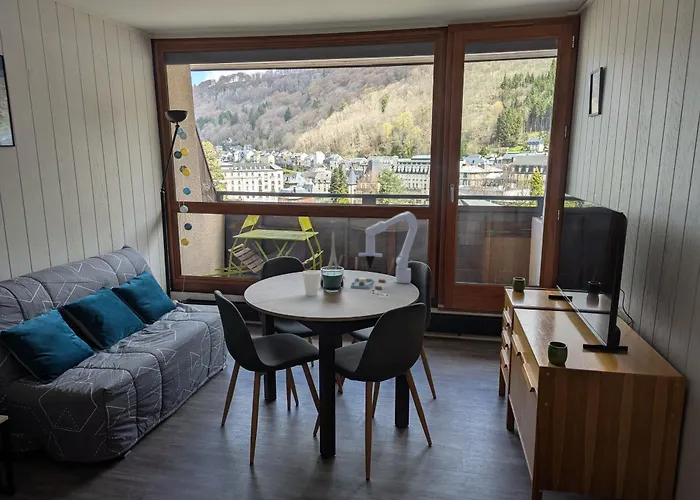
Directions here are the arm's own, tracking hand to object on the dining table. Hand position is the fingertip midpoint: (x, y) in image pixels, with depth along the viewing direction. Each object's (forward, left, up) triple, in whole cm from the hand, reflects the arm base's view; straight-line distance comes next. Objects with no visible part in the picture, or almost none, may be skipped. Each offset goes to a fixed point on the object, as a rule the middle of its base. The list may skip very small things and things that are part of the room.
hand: (370, 268), depth 311 cm
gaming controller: (+21, +17, -9) cm, 28 cm away
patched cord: (+4, +7, -9) cm, 12 cm away
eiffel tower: (+26, -10, -9) cm, 29 cm away
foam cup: (+29, +35, -9) cm, 46 cm away
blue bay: (+4, +7, -9) cm, 12 cm away
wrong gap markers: (-7, +7, -9) cm, 14 cm away
